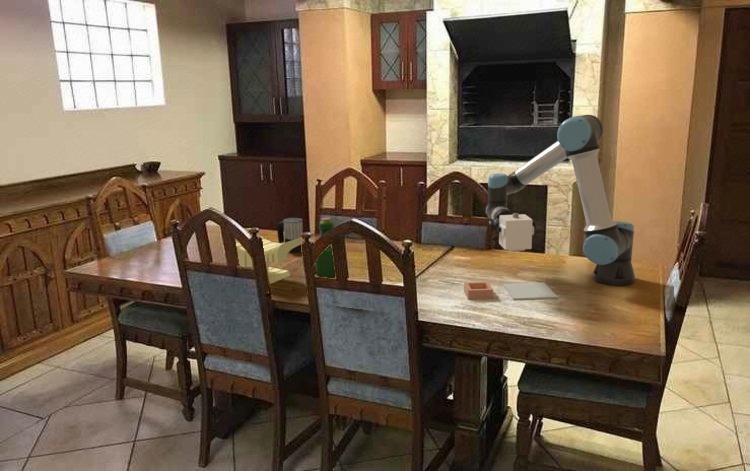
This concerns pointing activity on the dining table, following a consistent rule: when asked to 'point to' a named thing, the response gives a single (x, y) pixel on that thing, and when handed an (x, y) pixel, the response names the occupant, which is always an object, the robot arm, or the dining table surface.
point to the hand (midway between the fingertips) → (518, 231)
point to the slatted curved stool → (269, 256)
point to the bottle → (325, 253)
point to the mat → (529, 291)
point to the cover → (516, 232)
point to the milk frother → (290, 231)
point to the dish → (478, 290)
